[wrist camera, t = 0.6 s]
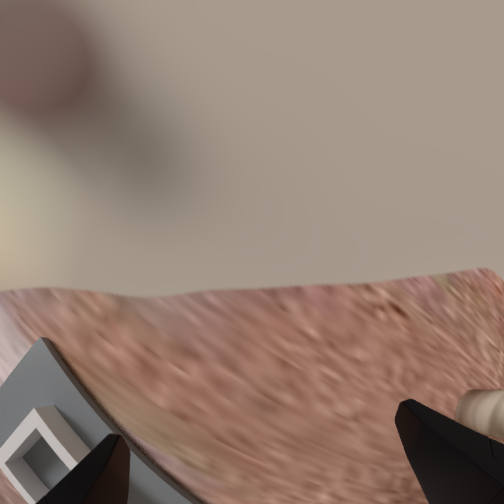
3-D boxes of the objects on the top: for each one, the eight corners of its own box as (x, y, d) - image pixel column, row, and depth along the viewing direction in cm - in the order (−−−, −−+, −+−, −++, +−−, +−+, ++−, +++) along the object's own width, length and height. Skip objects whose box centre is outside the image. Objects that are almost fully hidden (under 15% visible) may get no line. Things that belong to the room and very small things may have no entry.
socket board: (202, 504, 18) (196, 527, 14) (105, 562, 14) (91, 581, 10) (47, 337, 22) (20, 333, 18) (-18, 422, 18) (-43, 425, 14)
